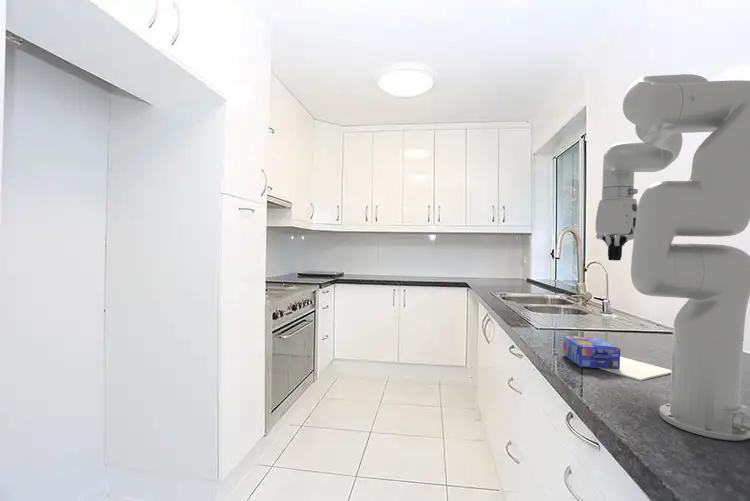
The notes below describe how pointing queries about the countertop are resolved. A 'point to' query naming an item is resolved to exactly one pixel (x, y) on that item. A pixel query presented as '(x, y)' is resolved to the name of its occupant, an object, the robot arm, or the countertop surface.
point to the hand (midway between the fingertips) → (614, 260)
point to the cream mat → (638, 370)
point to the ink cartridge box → (591, 352)
